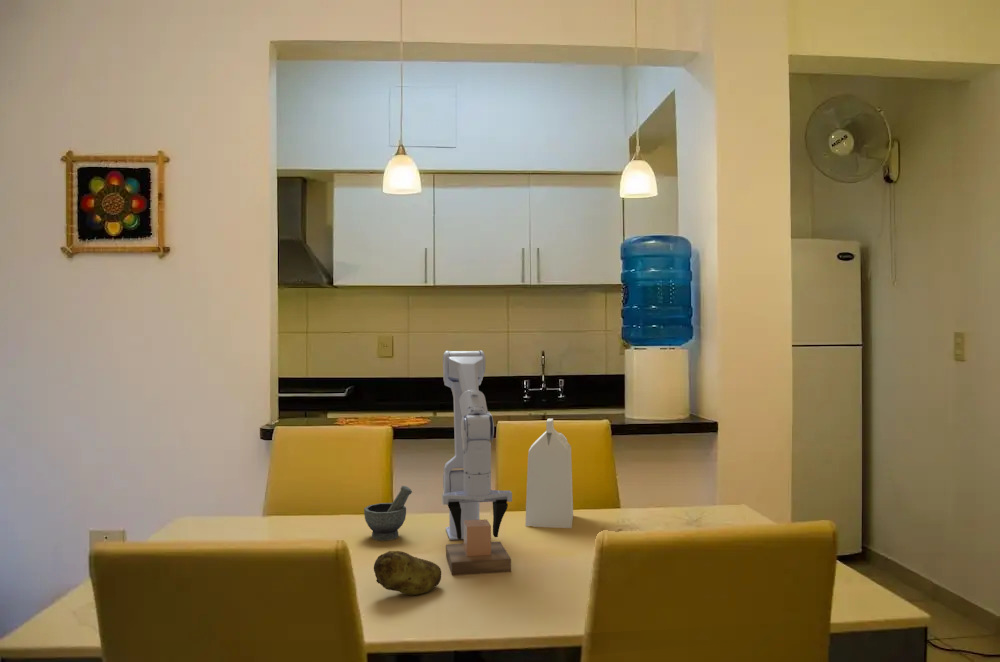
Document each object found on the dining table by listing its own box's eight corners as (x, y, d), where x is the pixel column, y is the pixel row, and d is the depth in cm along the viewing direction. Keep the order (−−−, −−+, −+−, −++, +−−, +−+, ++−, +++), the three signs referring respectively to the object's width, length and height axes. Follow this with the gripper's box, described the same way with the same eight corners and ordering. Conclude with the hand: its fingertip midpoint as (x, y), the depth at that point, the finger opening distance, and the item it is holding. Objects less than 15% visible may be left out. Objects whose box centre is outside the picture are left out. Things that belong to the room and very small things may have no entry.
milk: (529, 514, 186) (529, 416, 186) (573, 515, 185) (573, 417, 185) (525, 526, 174) (525, 422, 175) (571, 528, 173) (571, 423, 173)
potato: (446, 598, 127) (446, 554, 127) (374, 604, 124) (374, 559, 124) (439, 582, 135) (439, 541, 135) (372, 588, 132) (372, 545, 132)
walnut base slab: (445, 556, 151) (445, 544, 151) (500, 553, 153) (500, 541, 153) (451, 575, 139) (451, 562, 139) (510, 571, 141) (510, 559, 141)
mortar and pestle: (361, 543, 161) (361, 491, 161) (366, 531, 170) (366, 482, 170) (410, 542, 161) (410, 490, 161) (413, 530, 171) (413, 481, 171)
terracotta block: (463, 548, 148) (463, 520, 148) (486, 547, 149) (486, 519, 149) (467, 556, 143) (467, 526, 143) (491, 554, 144) (491, 525, 144)
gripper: (444, 477, 141) (444, 544, 141) (514, 474, 144) (515, 540, 144) (441, 470, 148) (441, 534, 148) (508, 467, 151) (508, 530, 151)
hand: (477, 536), depth 146 cm, fingers open, 7 cm apart
